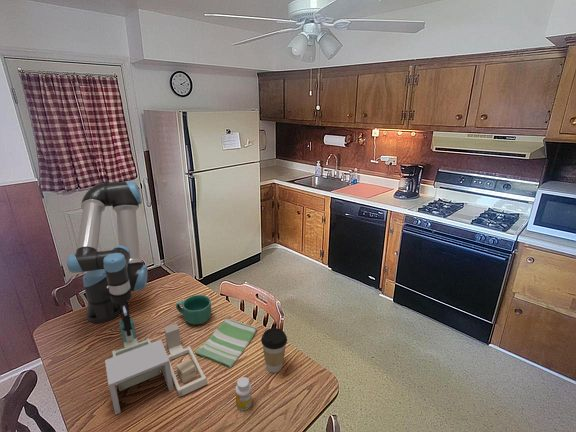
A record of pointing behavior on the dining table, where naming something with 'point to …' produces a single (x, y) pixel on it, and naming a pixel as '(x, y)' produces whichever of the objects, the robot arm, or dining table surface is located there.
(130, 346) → the frame
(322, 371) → the dining table surface
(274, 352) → the coffee cup
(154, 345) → the shelf
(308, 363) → the dining table surface
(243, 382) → the supplement bottle
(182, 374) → the birch block
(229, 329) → the dish towel
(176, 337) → the open frame with post
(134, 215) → the robot arm
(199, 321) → the mug
